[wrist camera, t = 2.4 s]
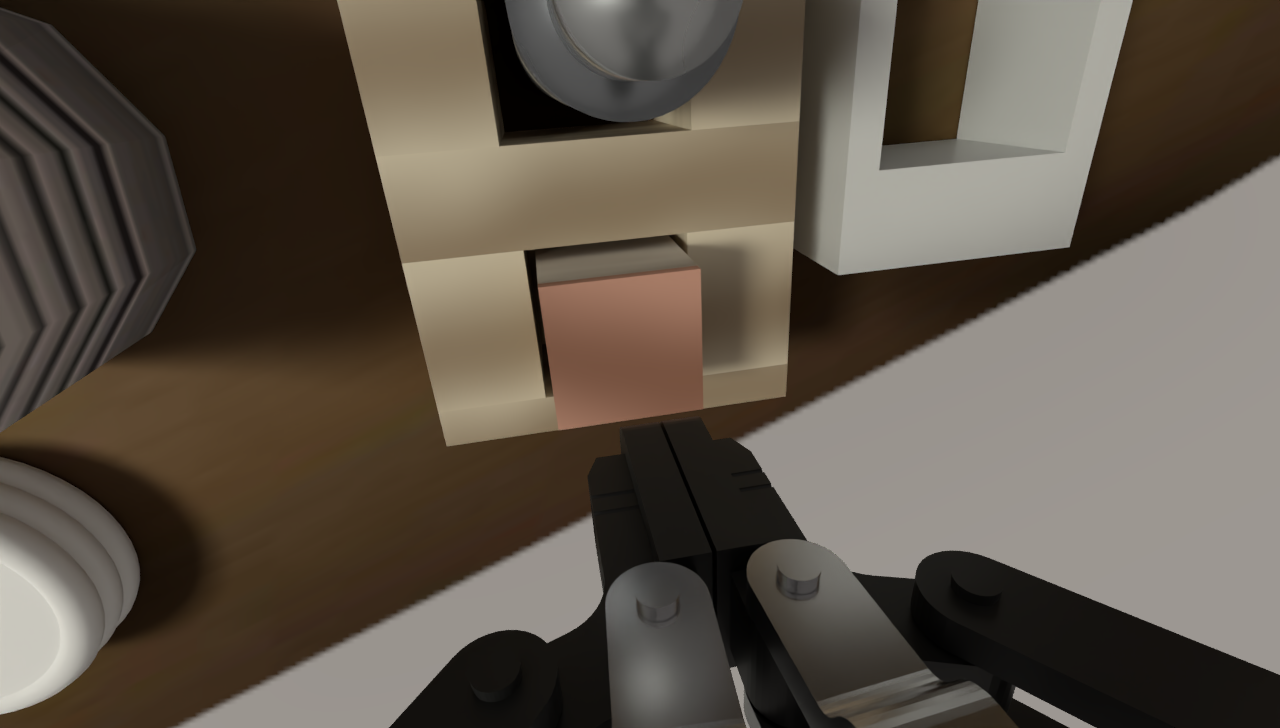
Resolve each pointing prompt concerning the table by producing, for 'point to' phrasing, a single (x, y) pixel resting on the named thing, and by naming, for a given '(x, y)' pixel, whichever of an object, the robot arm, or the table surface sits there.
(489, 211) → the socket block
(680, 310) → the key
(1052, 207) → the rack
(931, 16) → the table surface
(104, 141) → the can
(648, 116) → the stepped metal cylinder
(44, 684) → the white round container
